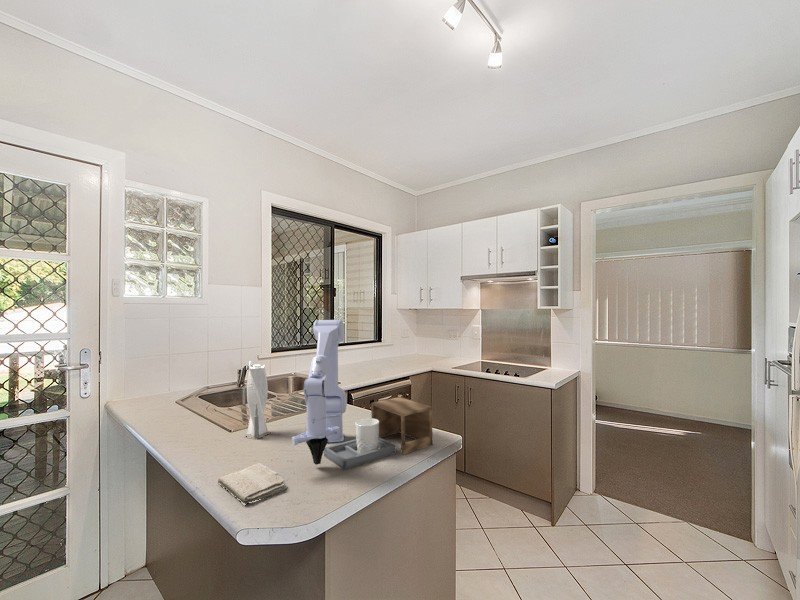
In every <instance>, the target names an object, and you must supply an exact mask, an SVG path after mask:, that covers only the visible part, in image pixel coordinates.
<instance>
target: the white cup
mask: <svg viewBox="0 0 800 600" xmlns="http://www.w3.org/2000/svg"><path fill="white" fill-rule="evenodd" d="M354 424H355V425H354V426H355V439H356V441H357V450H356V451H357V452H359V453H361V454H363V453H366V452H370V451H373V450H376V449H379V447H378V442H379V420H377V419H374V418H372V417H365V418H360V419H357V420H356V421H355V423H354Z"/></svg>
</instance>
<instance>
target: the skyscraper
mask: <svg viewBox="0 0 800 600" xmlns="http://www.w3.org/2000/svg"><path fill="white" fill-rule="evenodd" d="M246 381H247V383H246V400H247V406H248V412H249V415H250V416H249V421H248V426H247V427H248V428H247V433H246V434H250V435H246V434H245V435H246V436H248V437H251V438H255V439H254V440H256V439H257V438H259V439H261V438H260V437H262V438H263V436H264V437H266V436H268V435H267V434H269V435H271V434H272V432H270V431H269V430H268V426H267V421H266V417H265V411H266V406H267V401H268V394H269V388H268V386H269V385H268V378H267V372H266V364H263V365H262V364H253V365H252V360H249V363H248V376H247V380H246ZM270 433H271V434H270ZM265 435H266V436H265ZM251 438H250V439H251ZM257 440H258V439H257Z"/></svg>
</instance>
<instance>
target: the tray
mask: <svg viewBox="0 0 800 600" xmlns="http://www.w3.org/2000/svg"><path fill="white" fill-rule="evenodd" d="M356 449H357V441H356V438H355V439H352V440H347V441H343V442H341V443H337V444H334V445H329V446H326V447H325V449H324V451H323V456H324V458H326V459H328V460H329V461H330V462H331V463H333V464H334V465H336V466H338V467H339V468H340V469H342V470H343V471H346V470H349V469H352V468H355V467H358V466H360V465H363V464H367V463H370V462H373V461H375V460H378V459H382V458H384V457H388V456H391V455H394V454H396V444H394V443H392V442H390V441H388V440H386V439H384V438H383V437H381V438H380V437H379V442H378V449H376V450H373V451H370V452H366V453H363V454H361V453H359V452H357V450H356Z"/></svg>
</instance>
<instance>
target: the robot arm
mask: <svg viewBox="0 0 800 600" xmlns="http://www.w3.org/2000/svg"><path fill="white" fill-rule="evenodd" d="M312 328H313V329H312V331H313V335H314V338H315V340H316V341H317V344H316V355H315V356H314V357H313V358H312V359H311V363H310V367H309V374H308V376H307V378H306V379H305V380H304V382H303V396H304V402H305V404H306V431H304V432H302V433H300V434H297V435H294V436H292V437H291V444H292V445H293V446H298V445H299V444H302V443H306V445H307V446H308V449H309V451H310V454H311V457H312V463H313V464H314V465H316V466H317V465H320V464H321V463H322V459H323V455H324V449H325V448H326V447H327V445H328V444H329V443H338V442H341V443H343V442H345V441H344V440H345V439H344V438H345V433H344V432H343V430H344V429H343V414H344V413H346V411H347V405H348V404H347V402H348V401H347V393H346V391H345V390H344V389H342V388H341V387H340V386H339V343H340V342H344V338H345V337H344V336H345V335H344V334H345V333H344V322H343V320H342V319H315V320H314V323H313V327H312Z"/></svg>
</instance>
